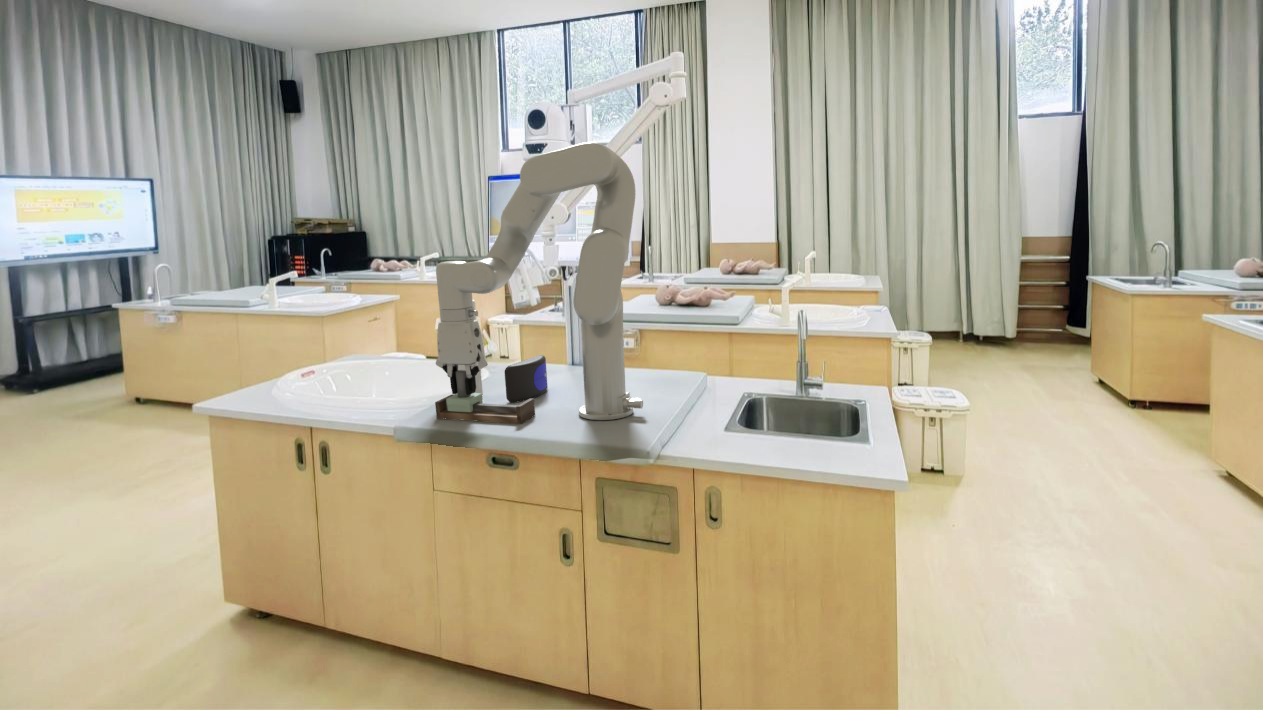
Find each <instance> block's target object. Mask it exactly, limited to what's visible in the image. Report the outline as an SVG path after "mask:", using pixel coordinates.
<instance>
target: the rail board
mask: <svg viewBox="0 0 1263 710" xmlns="http://www.w3.org/2000/svg"><path fill="white" fill-rule="evenodd" d="M453 395H454V394H450V395H448V396H446V397H443V398H441V399H439V400H437V401H435V402H434V404H435V414H436V415H435V416H436V419H437V418H442V419H441V420H450V419H464V420H463V421H466V420H477V421H476V422H483V421H488V422H487V423H499V422H503V424H516V425H517V424H519V425H520V424H521V425H522V424H524V423H526V422H527V421H528V420H530V419H531V418H533V417H534V415H535V416H536V408H535V398H530V399H528V400H524V401H522V402H521V403H519V404H503V403H502V404H501V403H483V402H482V403H475V404H473V411H472V412H456V411H448V407H447V402H446V399H447V398H449V397H451V396H453ZM532 416H533V417H532ZM443 418H444V419H443ZM445 418H446V419H445ZM529 418H530V419H529ZM526 420H527V421H526Z"/></svg>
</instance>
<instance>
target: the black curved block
mask: <svg viewBox="0 0 1263 710" xmlns="http://www.w3.org/2000/svg"><path fill="white" fill-rule="evenodd" d="M546 359H547V358H546V356H545V355H541V354H539V355H536V356H533V357H530V358H528V359H525V360H522V361H518V362H516V363H512V364H510V365H507V366H506V367H505V370H504V382H505V396H506V400H507V401H508V402H510V403H518V402H517V401H520V402H524V401H526V400H527V399H530V398H533V399H535V398H537V397H540V396H541V395H543V394H544V393H546V391H547V390H548V373H547V360H546ZM534 397H535V398H534ZM523 400H524V401H523Z"/></svg>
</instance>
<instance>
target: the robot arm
mask: <svg viewBox="0 0 1263 710" xmlns="http://www.w3.org/2000/svg"><path fill="white" fill-rule="evenodd" d="M519 180H520V182H519V184H518V186H517V188H516V189H515V191H514V193H513V194H512V196H511V198H510V199H509V201H508V202H507V204H506V205H505V207H504V209H503V210H502V213H501V216H500V228H499V229H500V230H499V232H498V235H497V237H496V239H495V241H494V243H493V244H492V247H491V248H490V250H489V251H488V252H487V254H486V255H485V258H483V259H479V260H475V261H474V260H473V261H470V262H469V261H468V262H467V261H463V260H448V261H441V262H439V263H438V264H437V265H436V267H435V274H436V275H435V276H436V286H437V295H438V296H437V298H438V307H439V308H438V309H439V318H440V321H439V322H438V325H437V334H436V335H437V336H436V337H437V340H436V341H437V342H436V343H437V345H436V347H437V359H436V361H435V365H436V367H439V368H441V369H442V370H443V371H444V372H445V373H446V376H447V377H448V378H449V380H450V381H449V383H450V389H451V395H455V394H456V393H457V383H456V371H458V365H465V369H466V375H467V378H465V386H466V394H467V395H470V394H472V393H474V392H475V391H476V380H475V376H476V375H477V373H478V372H479V371H480V370H481V371H482V369H484V368H486V367H488V361H487V360H486V358H485V355H486V354H485V346H484V339H483V335H482V334H483V333H482V330H481V327H480V323H479V321H478V319H476V320H474V318H475V316H476V317H478V316H479V311H478V310H476V311H475V310H474V307H473V300H474V299H473V294H481V295H486V294H490V293H492V292H495V291H496V290H499V289H501V288H503V287H505V285H507V284H508V282H509V280H510V279H511V278H512V276H513V274H514V273H515V271H516V269H517V268H518V266H520V263H521V261H522V260H523V258H524V256H525V255H526V252H527V251H528V249H529V247H530V245H531V243H532V242H533V239H534V237H535V235H536V233H537V232H538V229H539V228H540V227H541V225H542V223H543V222H544V220H545V218H546V217H547V216H548V214H549V212H550V210H552V208H553V205H554V204H555V203H556V201H557V199H558V198H559V196H560V195H561V193H562V192H563V193H565V192H568V191H571V190H575V189H579V188H583V187H587V186H591V185H593V186H595V188H596V192H597V193H596V195H597V196H596V203H595V205H594V206H595V207H594V214H593V216H594V217H593V222H592V228H591V232H590V234H588V235H587V236H586V238H585V239H584V241H583V243H582V246H581V249H580V255H579V260H578V268H577V272H576V279H575V284H574V285H575V287H574V292H573V308H574V309H573V310H574V311H575V315H577V317H578V318H579V319H580V323H581V324H580V325H581V326H580V327H581V330H580V331H581V332H580V333H581V353H582V354H581V355H582V371H583V372H582V374H583V387H584V388H583V389H584V390H583V391H584V405H581V407H579V409H578V415H579V416H580V417H581V418H583V419H587V420H592V421H609V420H617V419H623V418H625V417H626V418H627V417H629V416H630V415H632V414H633V412H634V409H643V407H644V400H642V398H641V397H640V398H639V397H635V398H634V397H631V396H630V395H631V394H630V393H631V392H630V391H626V372H625V370H626V369H625V353H624V352H625V350H624V349H625V348H624V347H625V344H624V341H625V340H624V339H625V338H624V300H623V293H622V290H621V288H622V286H621V285H622V280H623V275H624V268H625V263H626V262H627V260H628V257H629V251H630V250H629V249H630V240H631V239H630V238H631V232H632V226H633V219H634V211H635V203H636V184H635V179H634V176H633V173H632V171H631V169H630V167H629V166H628V164H627V163H626V162H625V161H624V160H623V159H622V158H621V156H619V155H618V154H617V153H616V152H615V151H614V150H612V149H611V148H609V147H607V146H606V145H605V144H603V143H600V142H597V141H587V142H582V143H578V144H574V145H571V146H567V147H564V148H560V149H556V150H553V151H549V152H544V153H541V154H536V155H534V156H531V157H529V158H528V159H527V160H525V162H524V163H523V164H522V166H521V168H520V172H519ZM476 362H479V364H478V365H476Z"/></svg>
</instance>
